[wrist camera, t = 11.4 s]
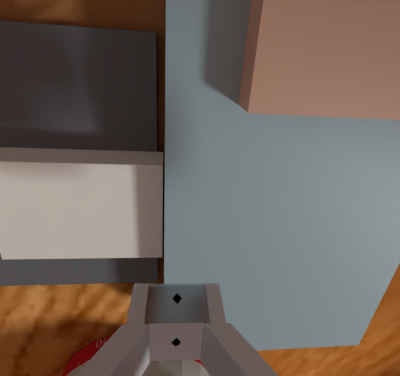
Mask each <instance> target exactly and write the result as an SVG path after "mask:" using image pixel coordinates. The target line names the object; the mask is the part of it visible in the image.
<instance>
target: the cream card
mask: <svg viewBox="0 0 400 376" xmlns="http://www.w3.org/2000/svg"><path fill="white" fill-rule="evenodd" d="M163 163H164V152H147V151H113V150H80V149H46V148H12V147H0V254H1V257H2V259H80V258H159V257H162V250H163Z"/></svg>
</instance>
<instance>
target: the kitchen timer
mask: <svg viewBox="0 0 400 376" xmlns="http://www.w3.org/2000/svg"><path fill="white" fill-rule="evenodd" d="M111 336H112V335H110V336H107V337H104V338H101V339H99V340H96V341H93V342H91V343H90V344H88V345H87V346H85V347H84V348H82V349H80V350H79V351H77V352H76V353H75V354H74V356H73V357H72V358H71V359H70V361H69V362H68V363H67V365H66V367H65V370H64V373H63V376H76V375H77V374H78V373H79V372H80V371H81V369H82V368H83V367H84V366H85V365H86V364H87V363H88V362H89V361H90V360H91V358H92V357H93V356H94V355H95V354H96V353H97V352H98V351H99V350H100V348H101V347H102V346H103V345H104V344H105V343H106V342H107V341H108V340H109V339H110V337H111ZM142 376H209V374H208V372H207V371H206V369H205V368H204V366H203V364H202V363H201V360H162V361H150V363H149V365H148V366H147V368H146V370H145V371H144V373H143V375H142Z"/></svg>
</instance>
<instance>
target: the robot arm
mask: <svg viewBox="0 0 400 376" xmlns="http://www.w3.org/2000/svg"><path fill="white" fill-rule="evenodd" d="M162 360H201V363H202V364H203V366H204V368H205V369H206V371H207V372H208V374H209V376H278V374H277V373H276V372H275V371H274V370H273V369H272V368H271V367H270V366H269V365H268V363H267V362H266V361H265V360H264V359H263V358H262V357H261V356H260V355H259V354H258V352H257V351H256V350H255V349H254V348H253V347H252V346H251V345H250V344H249V343H248V341H247V340H246V339H245V338H244V337H243V336H242V335H241V334H240V333H239V332H238V330H237V329H236V328H235V327H234V326H233V325H232V324H231V323H226V317H225V312H224V306H223V301H222V295H221V290H220V285H219V284H218V283H205V284H204V283H190V284H154V283H149V284H143V283H135V284H134V286H133V290H132V296H131V301H130V307H129V313H128V318H127V324H126V325H121V326H120V327H119V329H118V330H117V331H116V332H115V333H114V334H113V335H112V336H111V337H110V339H109V340H108V341H107V342H106V343H105V344H104V345H103V346H102V347H101V348H100V350H99V351H98V352H97V353H96V354H95V355H94V356H93V357H92V358H91V360H90V361H89V362H88V363H87V364H86V365H85V366H84V367H83V368H82V369H81V371H80V372H79V373H78V374H77V375H76V376H142V375H143V373H144V371H145V370H146V368H147V366H148V365H149V363H150V361H162Z"/></svg>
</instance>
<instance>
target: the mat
mask: <svg viewBox="0 0 400 376" xmlns="http://www.w3.org/2000/svg"><path fill="white" fill-rule="evenodd" d="M0 147H12V148H46V149H80V150H113V151H147V152H157V47H156V32H147V31H133V30H120V29H106V28H93V27H80V26H66V25H53V24H39V23H26V22H13V21H0ZM135 282H158V258H80V259H2V257H1V254H0V286H14V285H54V284H95V283H135Z"/></svg>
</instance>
